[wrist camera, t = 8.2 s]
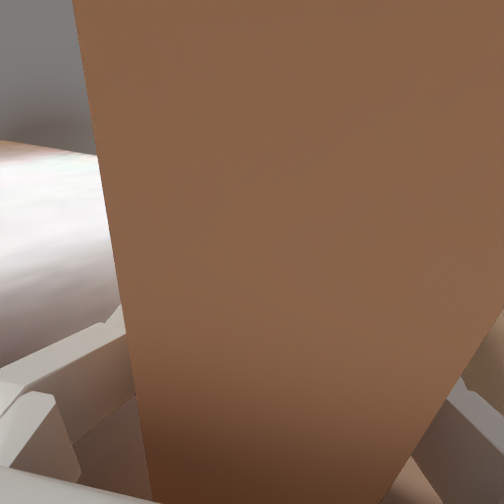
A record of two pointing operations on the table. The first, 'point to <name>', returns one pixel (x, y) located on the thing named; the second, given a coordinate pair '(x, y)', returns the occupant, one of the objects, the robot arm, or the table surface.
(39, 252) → the table surface
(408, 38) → the block
